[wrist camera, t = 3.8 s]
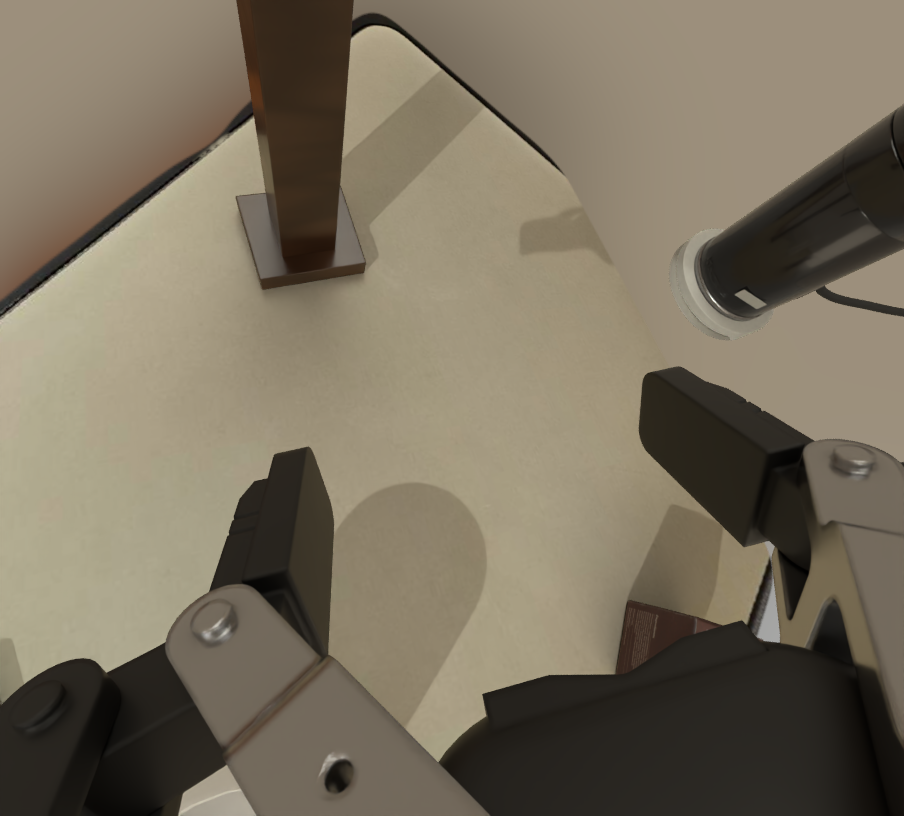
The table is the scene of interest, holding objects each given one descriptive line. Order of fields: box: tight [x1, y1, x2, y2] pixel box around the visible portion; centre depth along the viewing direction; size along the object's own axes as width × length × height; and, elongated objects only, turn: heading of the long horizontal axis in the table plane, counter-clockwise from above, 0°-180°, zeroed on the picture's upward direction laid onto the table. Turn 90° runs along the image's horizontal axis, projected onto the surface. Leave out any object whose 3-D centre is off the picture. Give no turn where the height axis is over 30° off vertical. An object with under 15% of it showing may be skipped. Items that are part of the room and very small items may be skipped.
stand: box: [236, 0, 366, 289], centre depth 22 cm, size 9×8×32 cm
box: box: [616, 600, 763, 674], centre depth 34 cm, size 6×6×7 cm
